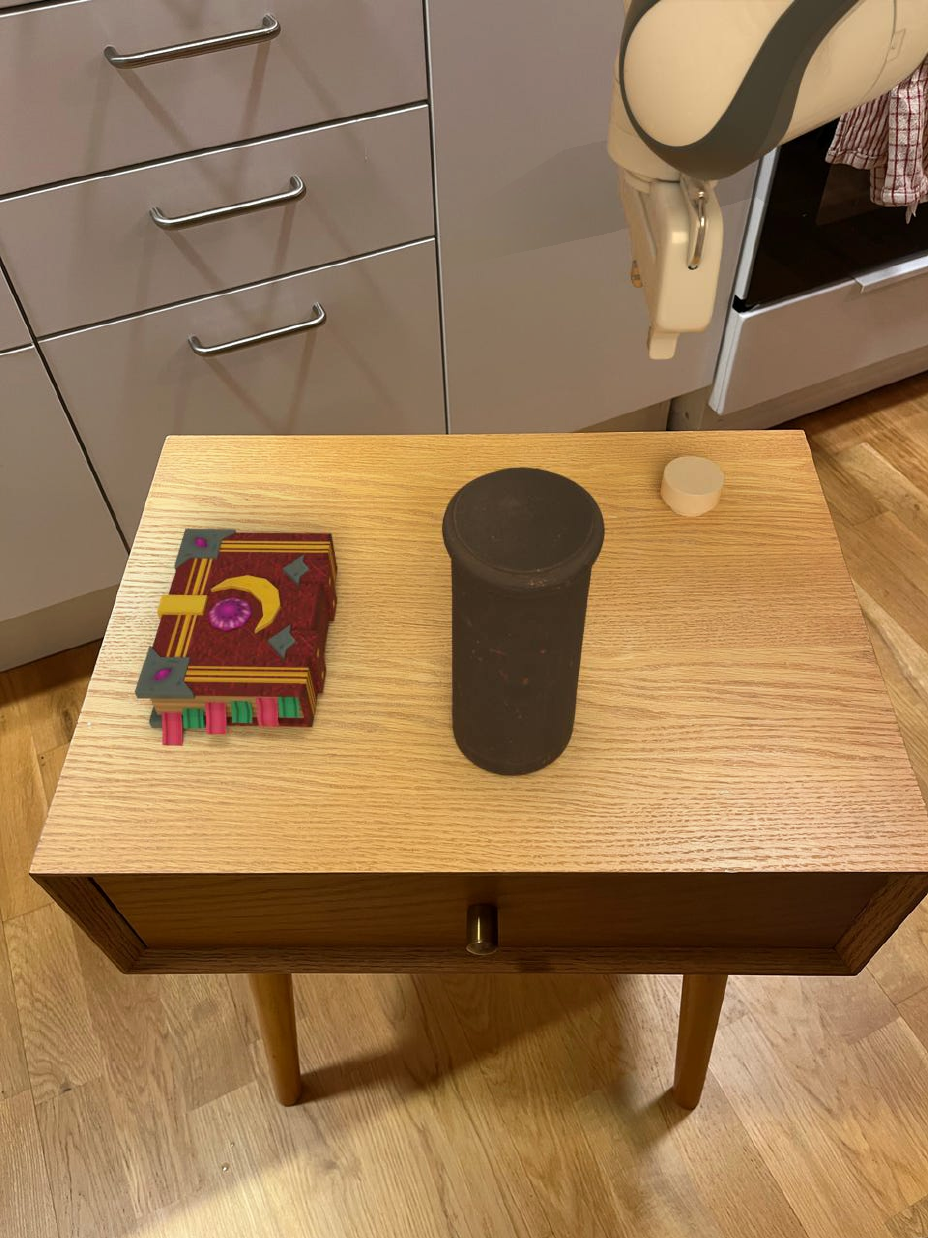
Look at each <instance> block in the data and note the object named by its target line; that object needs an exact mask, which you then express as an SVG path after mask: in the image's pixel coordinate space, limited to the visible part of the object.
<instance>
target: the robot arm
mask: <svg viewBox="0 0 928 1238" xmlns="http://www.w3.org/2000/svg"><path fill="white" fill-rule="evenodd" d="M621 4H622V10H623V21H624V22H623V29H622V33H621V37H620V44H619V48H618V51H617V53H616V56H615V60H614V64H613V73H612V82H611V83H612V84H611V94H610V104H609V115H608V127H607V138H606V151H607V154H608V156H609V157H610V159H611V160H612V161H613V162H614V163H615V164H616V165H617V185H618V186H617V187H618V193H619V198H620V202H621V205H622V210H623V215H624V217H625V222H626V225H627V230H628V234H629V238H630V250H631V251H630V253H631V260H630V267H629V276H630V281H631V284H632V286H633V287H634V288H637V289H639V288H641V289H642V290H643V293H644V297H645V302H646V305H647V310H648V314H649V318H650V323H651V325H650V326H648V330H647V339H646V347H647V352H648V356H649V358H650V359H652V360H669V359H672V358H673V357H674V355H675V354H676V348H677V342H678V338H680V335H681V334H694V333H695V334H696V333H702V332H704V331H705V330H706V329H707V328H708V326H709V325H710V323H711V321H712V318H713V314H714V308H715V302H716V298H717V297H716V296H717V289H718V283H719V277H720V271H721V263H722V256H723V255H722V254H723V247H724V246H723V245H724V229H725V228H724V217H723V212H722V208H721V207H720V204H719V200H718V198H717V196H716V193H715V191H714V188H715V187H717V185H718V184H719V181H720V180H723V179H726V178H730V177H732V176H734V175H735V174H737V173H739V172H740V171H742V170H744V169H745V168H747V167H749V166H751V165H752V164H753V163H755V162H756V161H759V160H760V159H761V158H763V157H764V156H766V155H768V154H769V153H771V152H772V151H773V150H774V149H775V148H778V147H780V146H782V145H784V144H786V143H788V142H790V141H792V140H795V139H796V138H799V137H801V136H803V135H805V134H807V133H809V132H812V131H814V130H816V129H818V128H819V127H822V126H824V125H826V124H829V123H830V122H832V121H835V120H836V119H838V118H840V117H842V116H843V115H845V114H848V113H850V112H852V111H855V110H856V109H858V108H860V107H862V106H864V105H866V104H868V103H870V102H871V101H874V100H875V99H878V98H879V97H881V96H883V95H884V94H886V93H888V92H889V91H891V90H893V89H894V88H896V87H898V86H899V85H901V84H903V83H904V82H905V81H907V80H908V79H909V78H910V77H912V75H913V74H915V72H917V70H918V69H919V68H920V67H921V65H922V64H923V63H924V62H925V60H926V59H927V57H928V0H621Z"/></svg>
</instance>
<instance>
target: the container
mask: <svg viewBox="0 0 928 1238" xmlns="http://www.w3.org/2000/svg"><path fill="white" fill-rule="evenodd" d="M441 534H442V540H443V545H444V548H445V549H446V552H447V555H448V557H449V558H450V571H451V573H450V575H451V719H452V732H453V737H454V740H455V741H454V742H455V743H456V745H457V747H458V749H459V750H460V752H461V753H462V754H463V756H464V757H465V758H466V760H468V761H469V762H470V763H472V764H473V765H474V766H476V767H478V768H479V769H481V770H483V771H486V772H488V773H491V774H495V775H498V776H506V777H516V776H517V777H518V776H525V775H529V774H533V773H536V772H538V771H540V770H542V769H545V768H546V767H548V766H549V765H551V764H552V763H554V762H555V761H556V760H558V759H559V757H560V756H561V755H562V754H563V752H565V750H566V748H567V746H568V745H569V743H570V740H571V738H572V735H573V732H574V725H575V720H576V719H575V718H576V710H577V697H578V686H579V678H580V669H581V662H582V661H581V660H582V651H583V642H584V633H585V626H586V616H587V610H588V609H587V608H588V599H589V592H590V586H591V578H592V572H593V566H594V565H595V563H596V562H597V560H598V558H599V556H600V554H601V551H602V548H603V545H604V540H605V534H606V526H605V521H604V516H603V513H602V510H601V508H600V506H599V504H598V502H597V501H596V500H595V498H594V496H592V495H591V493H589V492H588V491H587V490H586V489H585V488H584V487H583V486H581V485H580V484H579V483H577V482H576V481H574V480H573V479H571V478H569V477H566V476H564V475H561V474H559V473H556V472H553V471H549V470H546V469H542V468H534V467H523V466H521V467H520V466H519V467H507V468H502V469H499V470H495V471H491V472H488V473H485V474H482V475H480V476H477V477H476V478H474V479H472V480H470V481H468V482H467V483H465V484H464V485H463V486H462V487H461V488H460V489H458V490H457V491H456V492H455V493H454V495H453V496H452V497H451V499H450V500H449V502H448V503H447V505H446V508H445V510H444V514H443V516H442V523H441Z"/></svg>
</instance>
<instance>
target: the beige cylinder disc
mask: <svg viewBox="0 0 928 1238" xmlns="http://www.w3.org/2000/svg"><path fill="white" fill-rule="evenodd" d="M725 478H726V477H725V473H724V472H723V469H722V468H721V467H720V466H719V465H718V464H717V463H716V462H715V461H712V460H710V459H708V458H706V457H702V456H695V455H685V456H678V457H677V458H674V459H672V460H671V461H669V462H668V463H667V464H666V465H665V467H664V470H663V474H662V480H661V486H660V490H659V491H660V496H661V498H662V501H664V503H665V504H666V505H667V506H668V507H669V509H670V510H671V511H672V512H674V513H675V514H677V515H679V516H682V517H687V518H696V517H700V516H702V515H704V514H705V513H708V512H710V511H712V510H713V509H715V508H716V507H717V506H718V505H719V502H720V501H721V496H722V493H723V489H724V485H725V480H726V479H725Z"/></svg>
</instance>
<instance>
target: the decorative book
mask: <svg viewBox="0 0 928 1238" xmlns="http://www.w3.org/2000/svg"><path fill="white" fill-rule="evenodd" d="M173 567H174V570H175V571H174V575H173V578H172V581H171V584H170V587H169V592H168V593H167V594H162V595H161V598H160V601H159V604H158V607H157V610H156V614H157V616H158V619H159V624H158V627H157V630H156V633H155V637H154V640H153V644H152V646H151V645H149V646H148V649H147V652H146V655H145V658H144V662H143V664H142V667H141V671H140V674H139V677H138V679H137V684H136V685H135V688H134V689H135V690H134V694H135V696H136V698H137V699H141V700H142V699H143V700H144V699H145V700H147V699H148V700H149V699H150V702H151V704H152V710H151V713H150V715H149V719H148V723H149V726H150V728H151V729H162V740H161V742H162V743H161V744H162V746H181V747H182V746H183V729H195V730H196V729H198V730H199V729H200V730H204V729H205V735H212V736H213V735H220V736H222V735H223V736H226V735H227V727H258V728H259V727H261V728H279V727H280V728H281V727H282V728H283V727H285V728H286V727H287V728H290V727H291V728H313V726H314V725H313V724H314V719H315V713H316V706H317V700H318V694H323V693H324V687H325V681H326V680H325V679H326V674H327V667H326V661H325V657H324V656H325V649H326V644H327V643H326V642H327V638H328V631H329V624H330V622H335V617H336V610H337V605H338V597H337V592H336V581H337V573H338V563H337V559H336V552H335V546H334V540H333V535H332V532H244V531H243V532H240V531H239V532H237V531H236V529H231V528H228V529H227V528H225V529H224V528H185V529H184V531H183V535H182V539H181V542H180V544H179V548H178V551H177V555H176V559H175V562H174V565H173Z"/></svg>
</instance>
